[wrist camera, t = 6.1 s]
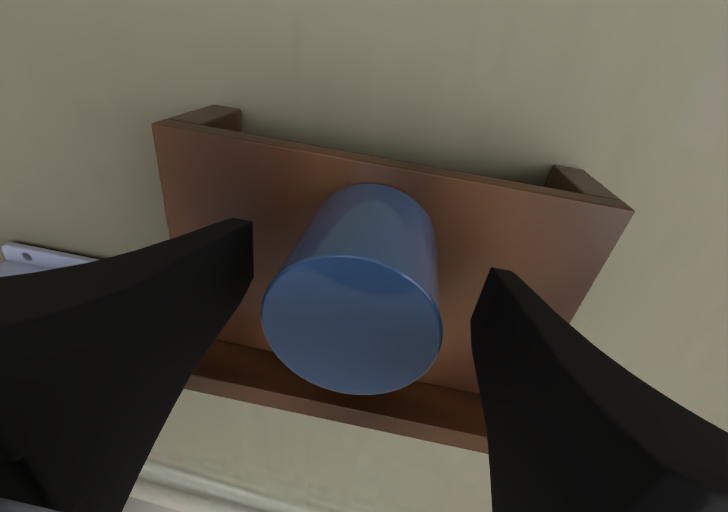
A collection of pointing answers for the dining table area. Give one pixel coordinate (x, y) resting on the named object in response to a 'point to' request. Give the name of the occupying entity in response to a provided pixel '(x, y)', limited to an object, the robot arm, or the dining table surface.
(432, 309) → the blue cup
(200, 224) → the shelf
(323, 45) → the dining table surface
